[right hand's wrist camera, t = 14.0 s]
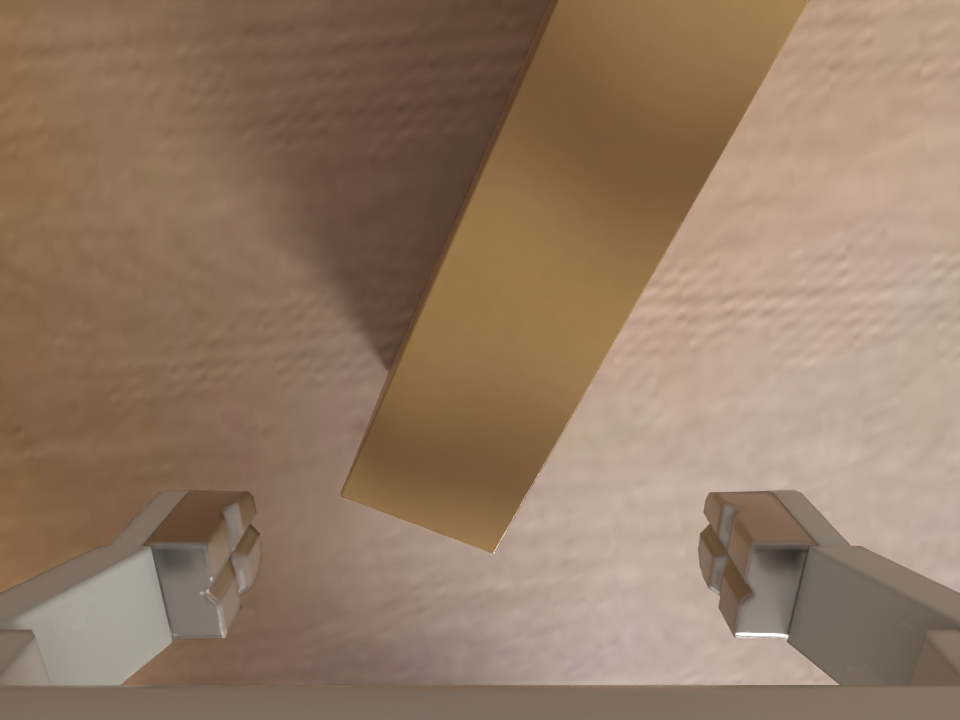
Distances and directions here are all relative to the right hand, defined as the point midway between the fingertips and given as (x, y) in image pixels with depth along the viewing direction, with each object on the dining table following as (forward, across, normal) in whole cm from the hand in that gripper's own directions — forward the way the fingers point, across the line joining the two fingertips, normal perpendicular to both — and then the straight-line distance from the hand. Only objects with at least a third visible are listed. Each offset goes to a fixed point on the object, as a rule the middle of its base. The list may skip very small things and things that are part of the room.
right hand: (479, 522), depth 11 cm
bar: (+14, -3, -6) cm, 16 cm away
